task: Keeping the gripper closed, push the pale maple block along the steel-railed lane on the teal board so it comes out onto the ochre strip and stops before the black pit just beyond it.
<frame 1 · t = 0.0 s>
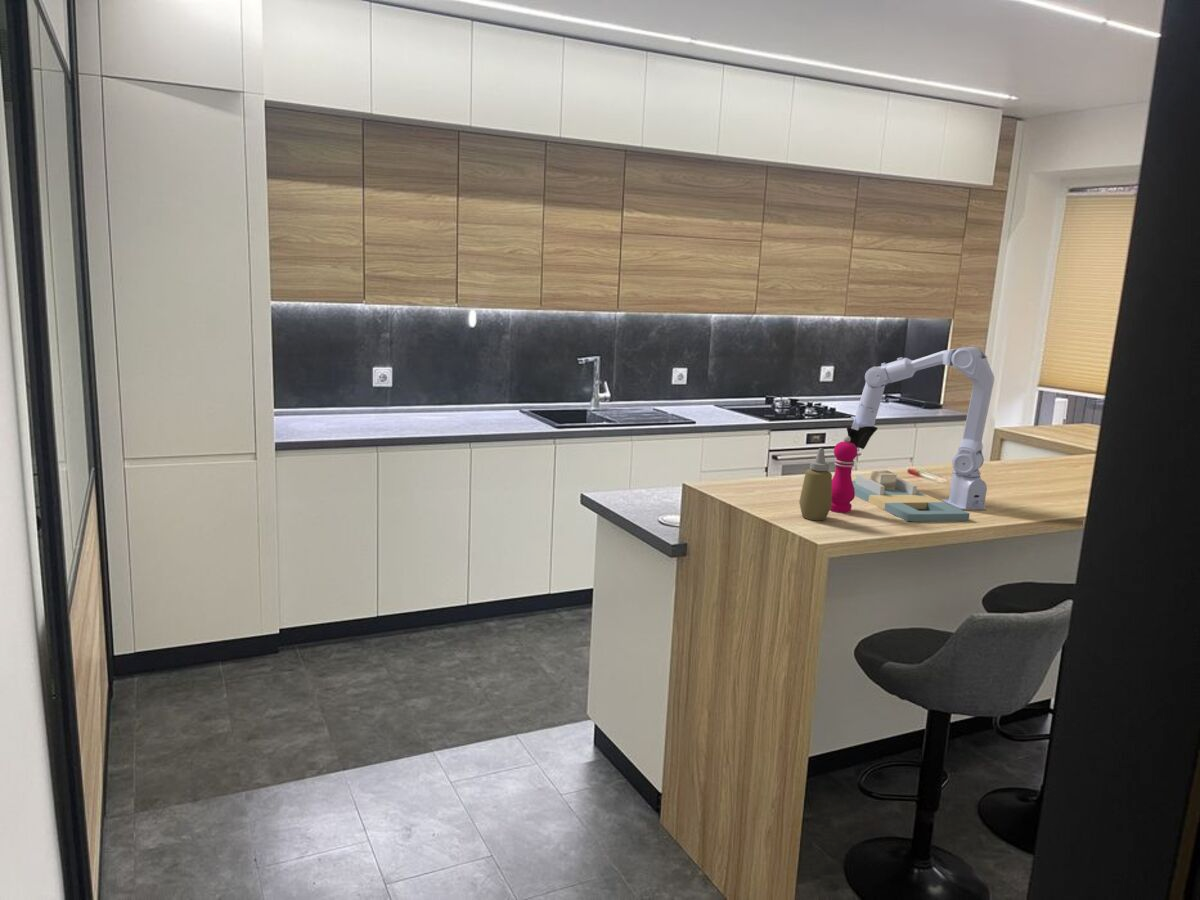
hand: (855, 449, 259), 11 cm above the counter, tool pointing down, fingers open, 7 cm apart
block: (882, 487, 250), point 2 cm above the counter, touching board
pepper mill: (838, 510, 231), on the counter
board: (887, 497, 248), on the counter
squeeze bottle: (813, 518, 221), on the counter
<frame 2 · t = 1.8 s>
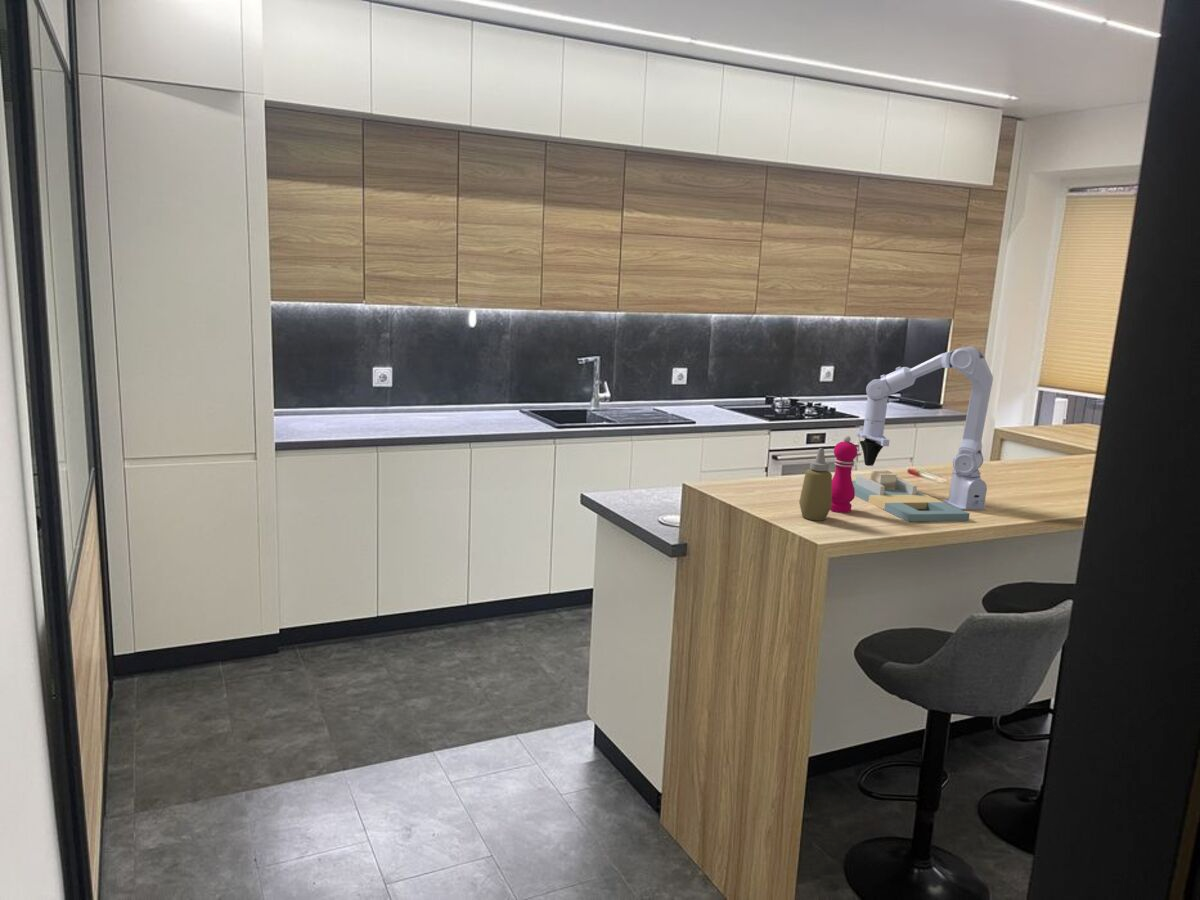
hand: (869, 465, 257), 7 cm above the counter, tool pointing down, fingers closed
nothing on the counter moved.
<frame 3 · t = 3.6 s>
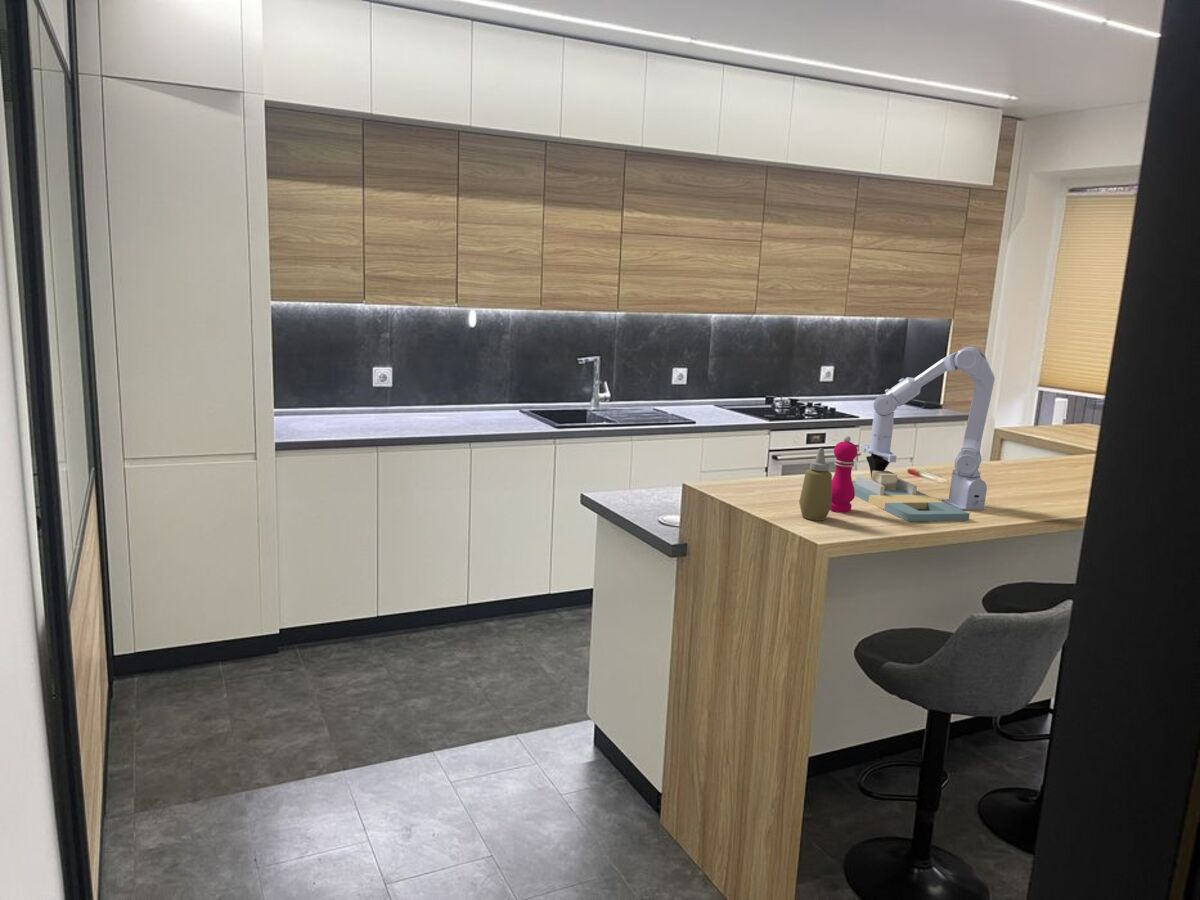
hand: (875, 481, 253), 3 cm above the counter, tool pointing down, fingers closed
block: (882, 487, 250), point 2 cm above the counter, touching board, gripper
everything else where it was.
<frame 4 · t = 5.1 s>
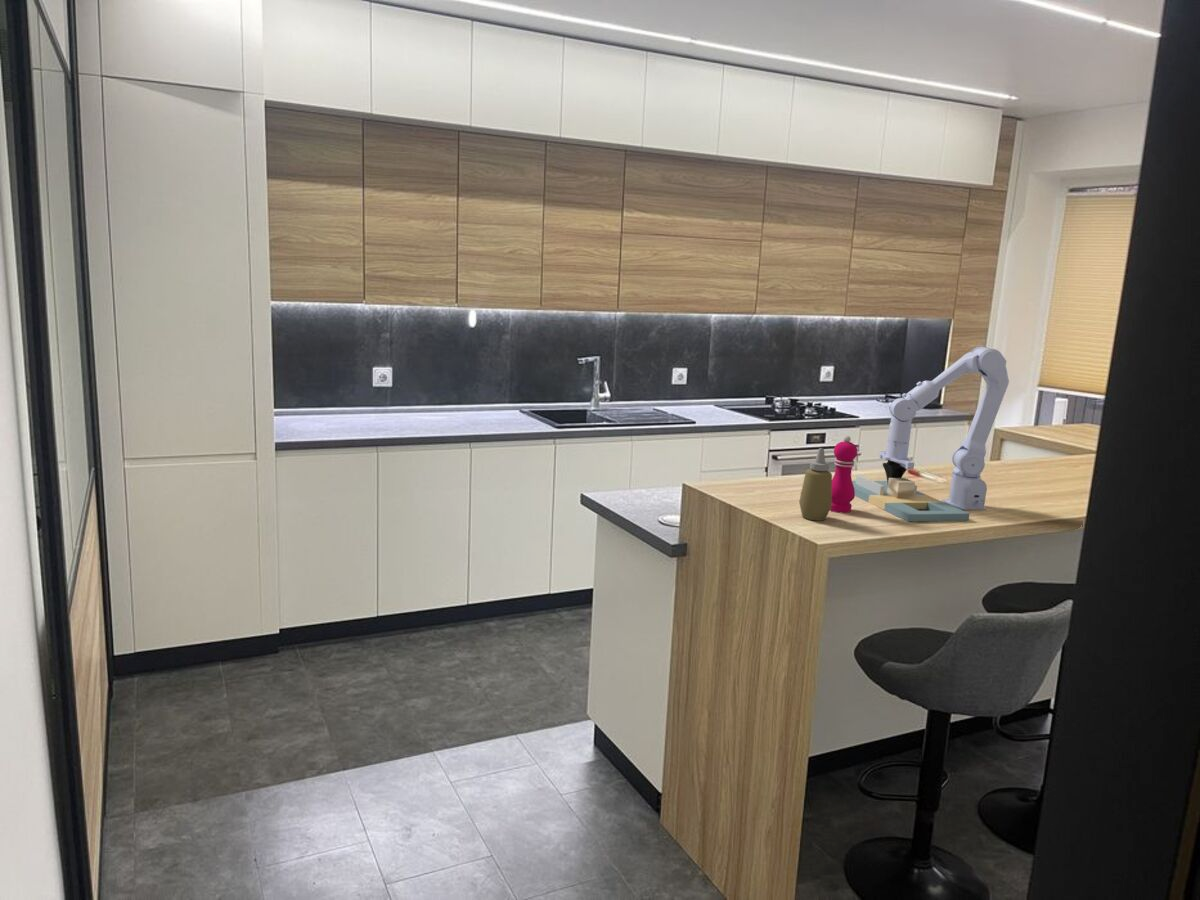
hand: (892, 488, 245), 3 cm above the counter, tool pointing down, fingers closed
block: (899, 495, 241), point 2 cm above the counter, touching gripper
everything else where it was.
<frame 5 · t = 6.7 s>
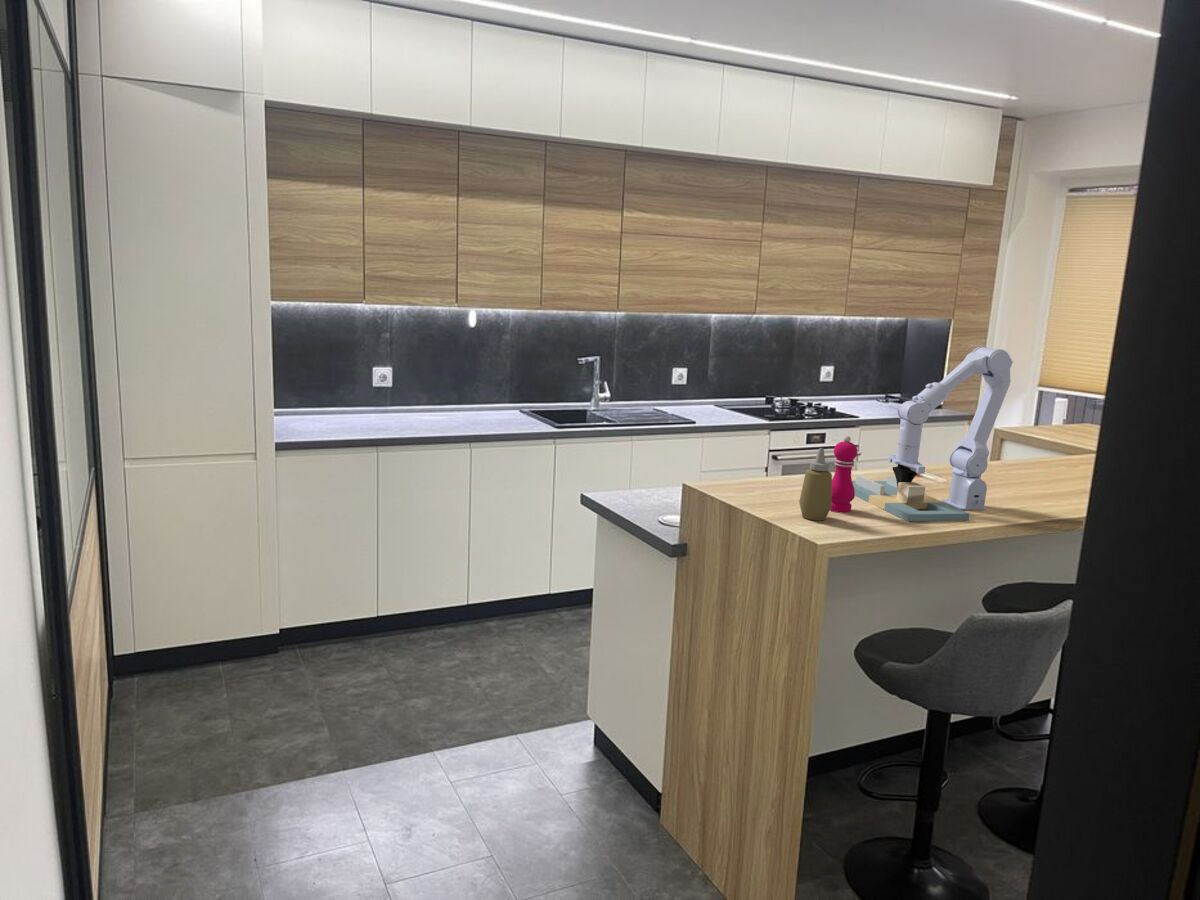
hand: (902, 493, 240), 3 cm above the counter, tool pointing down, fingers closed
block: (909, 500, 237), point 2 cm above the counter, touching board, gripper
everything else where it was.
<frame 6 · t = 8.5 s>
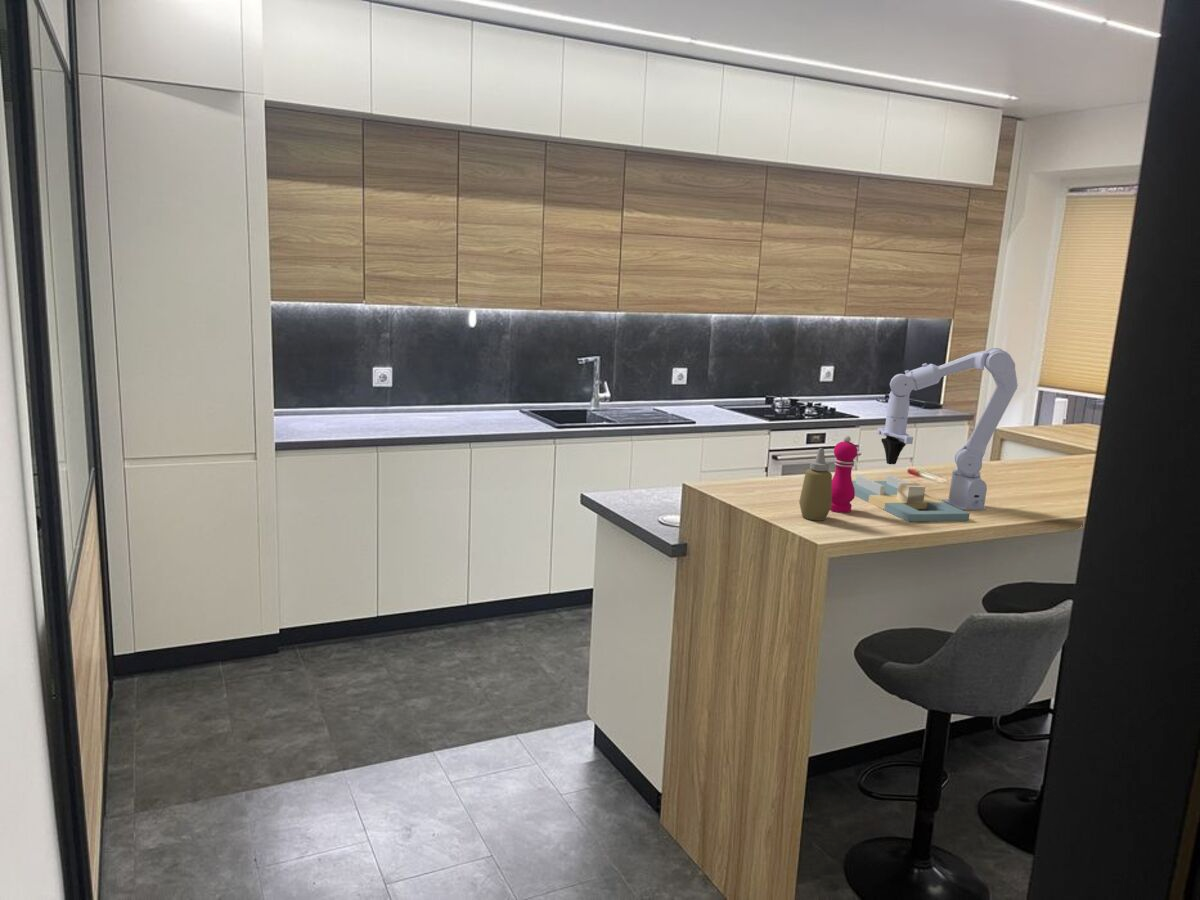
hand: (891, 463, 247), 9 cm above the counter, tool pointing down, fingers closed
block: (909, 500, 237), point 2 cm above the counter, touching board
everything else where it was.
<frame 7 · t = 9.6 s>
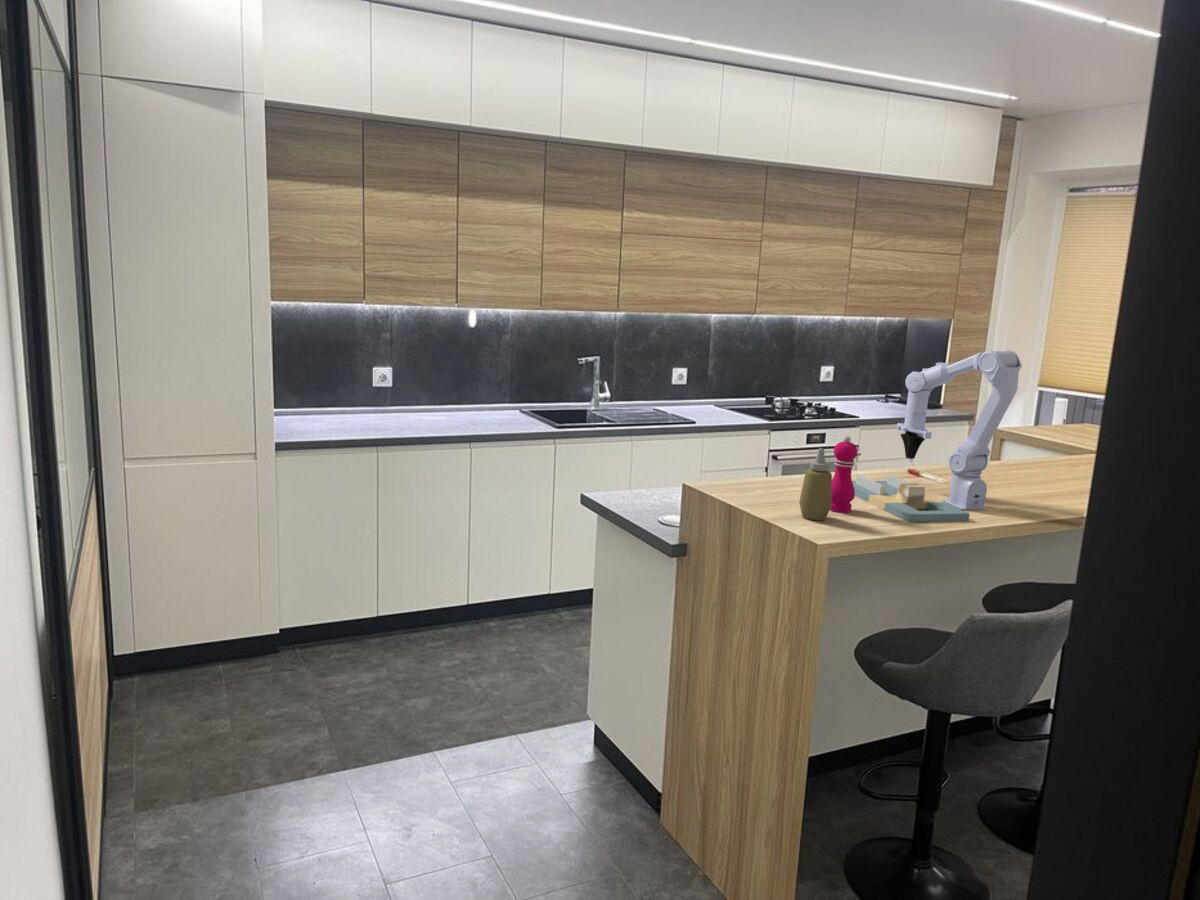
hand: (910, 458, 257), 9 cm above the counter, tool pointing down, fingers closed
nothing on the counter moved.
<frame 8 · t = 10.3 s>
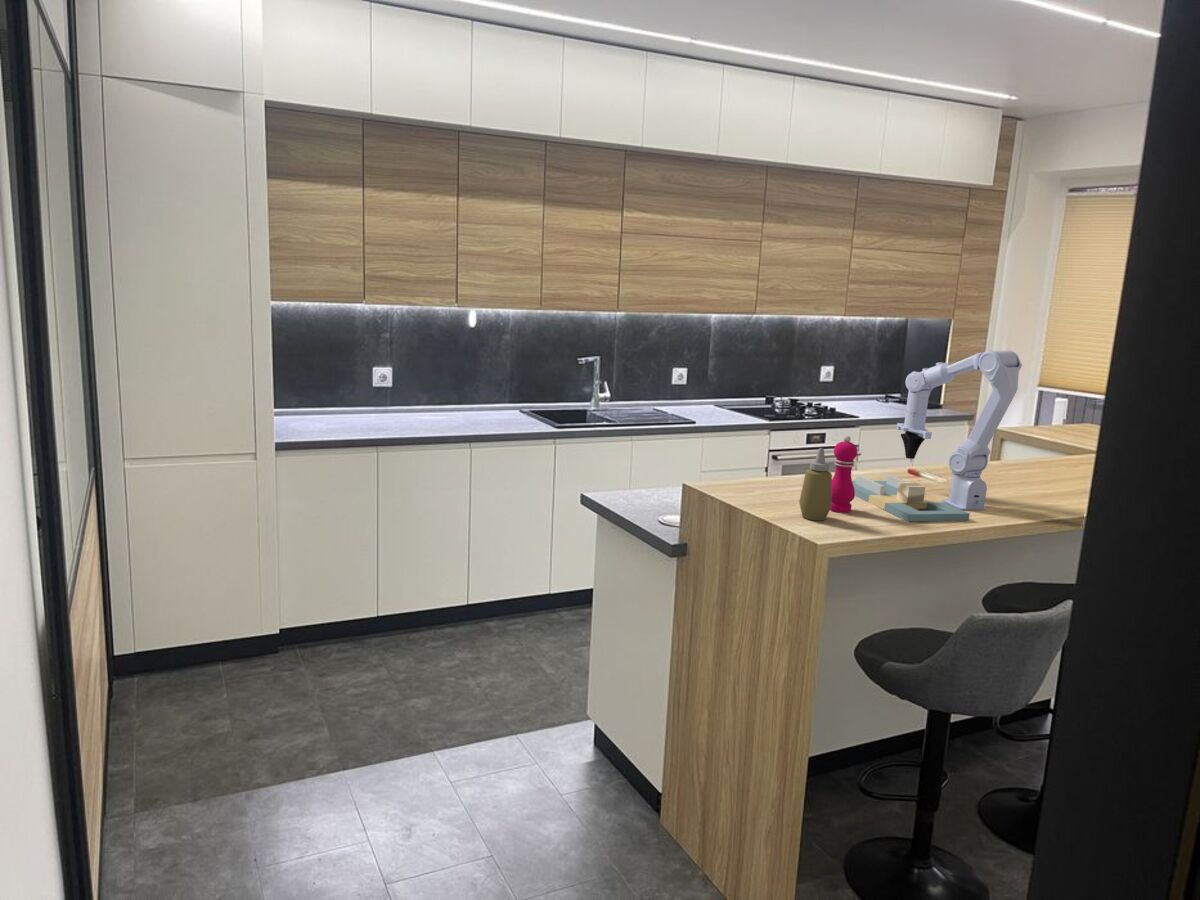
hand: (910, 458, 257), 9 cm above the counter, tool pointing down, fingers closed
nothing on the counter moved.
at the end: block inside the target area (2.5 cm from its centre), point 2.0 cm above the counter; block tilted 0° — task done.
